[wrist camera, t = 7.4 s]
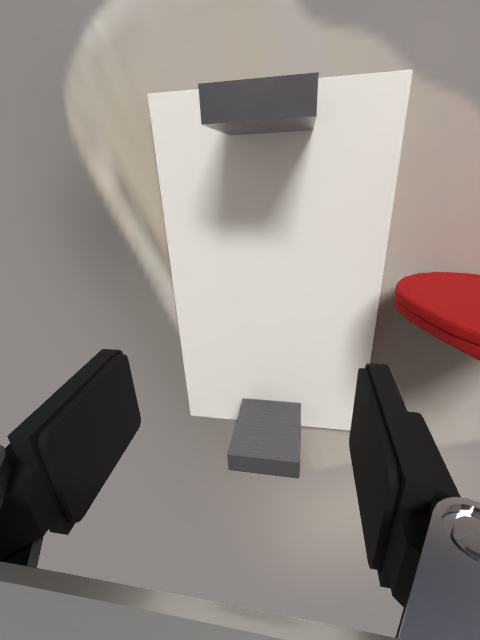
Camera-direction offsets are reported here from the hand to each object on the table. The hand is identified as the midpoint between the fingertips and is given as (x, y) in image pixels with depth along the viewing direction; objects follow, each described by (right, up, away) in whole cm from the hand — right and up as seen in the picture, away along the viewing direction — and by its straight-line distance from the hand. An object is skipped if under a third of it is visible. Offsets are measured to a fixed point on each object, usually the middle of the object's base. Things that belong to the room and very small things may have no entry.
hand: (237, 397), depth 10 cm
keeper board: (+2, +5, +10) cm, 11 cm away
